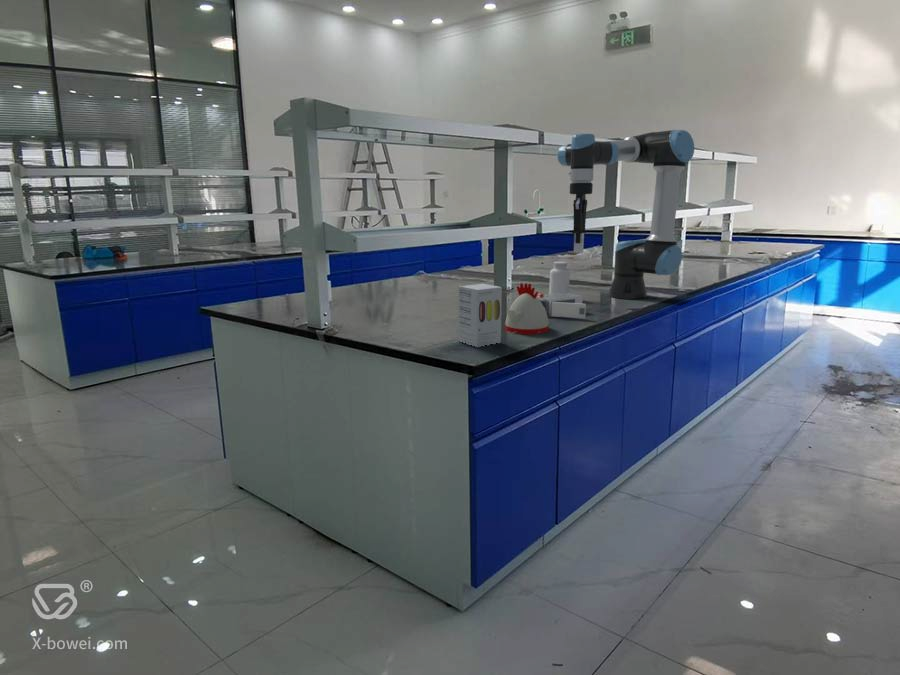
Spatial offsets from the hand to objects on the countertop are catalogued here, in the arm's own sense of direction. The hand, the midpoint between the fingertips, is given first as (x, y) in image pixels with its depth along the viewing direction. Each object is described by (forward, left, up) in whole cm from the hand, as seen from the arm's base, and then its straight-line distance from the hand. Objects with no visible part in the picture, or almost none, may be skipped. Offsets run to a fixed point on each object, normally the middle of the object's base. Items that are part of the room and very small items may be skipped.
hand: (578, 252), depth 209 cm
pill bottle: (-16, -30, -23) cm, 41 cm away
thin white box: (+5, +2, -22) cm, 23 cm away
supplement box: (+49, +15, -23) cm, 56 cm away
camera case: (+3, -9, -22) cm, 24 cm away
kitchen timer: (+27, +8, -23) cm, 36 cm away
